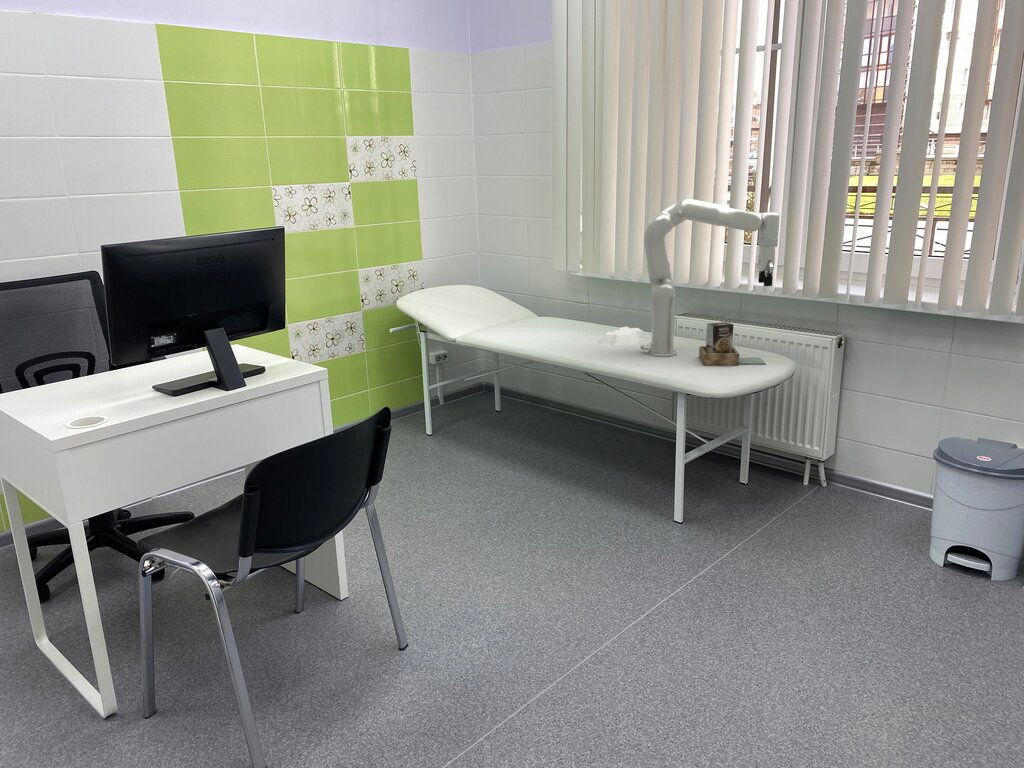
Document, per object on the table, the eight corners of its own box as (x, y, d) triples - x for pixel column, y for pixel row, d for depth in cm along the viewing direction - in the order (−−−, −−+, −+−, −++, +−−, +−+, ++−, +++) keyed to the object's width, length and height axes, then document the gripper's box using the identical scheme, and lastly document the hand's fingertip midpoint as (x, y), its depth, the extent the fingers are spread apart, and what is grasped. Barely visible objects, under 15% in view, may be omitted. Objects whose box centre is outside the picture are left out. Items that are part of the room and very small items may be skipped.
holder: (703, 365, 310) (704, 353, 308) (698, 357, 323) (699, 346, 322) (738, 365, 308) (739, 353, 307) (732, 357, 322) (733, 346, 320)
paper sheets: (625, 352, 339) (626, 340, 337) (587, 347, 350) (587, 336, 349) (659, 337, 366) (660, 326, 365) (623, 334, 377) (623, 323, 376)
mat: (740, 364, 309) (740, 363, 309) (735, 358, 319) (736, 357, 319) (765, 364, 308) (765, 363, 308) (760, 358, 318) (760, 357, 318)
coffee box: (712, 364, 311) (714, 325, 307) (704, 360, 317) (706, 323, 313) (732, 362, 314) (734, 324, 309) (724, 358, 320) (725, 321, 315)
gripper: (754, 241, 320) (751, 281, 325) (763, 245, 303) (760, 287, 308) (772, 241, 319) (769, 281, 324) (782, 244, 303) (779, 287, 307)
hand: (765, 284), depth 316 cm, fingers open, 9 cm apart
